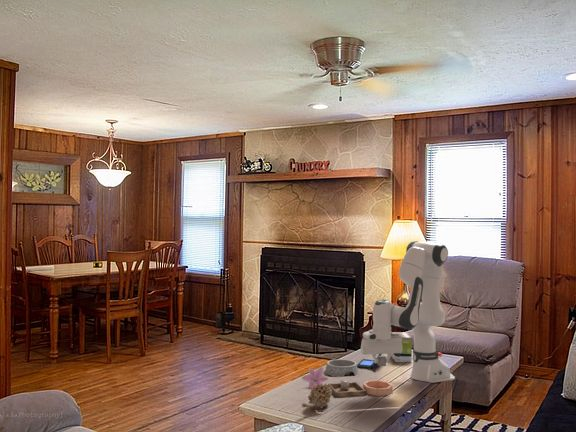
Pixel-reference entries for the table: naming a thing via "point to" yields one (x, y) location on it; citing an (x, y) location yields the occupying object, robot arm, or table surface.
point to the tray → (353, 390)
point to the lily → (315, 377)
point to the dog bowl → (341, 367)
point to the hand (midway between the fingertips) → (381, 362)
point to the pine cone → (319, 396)
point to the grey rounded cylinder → (381, 361)
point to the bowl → (378, 387)
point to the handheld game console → (367, 363)
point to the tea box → (404, 348)
